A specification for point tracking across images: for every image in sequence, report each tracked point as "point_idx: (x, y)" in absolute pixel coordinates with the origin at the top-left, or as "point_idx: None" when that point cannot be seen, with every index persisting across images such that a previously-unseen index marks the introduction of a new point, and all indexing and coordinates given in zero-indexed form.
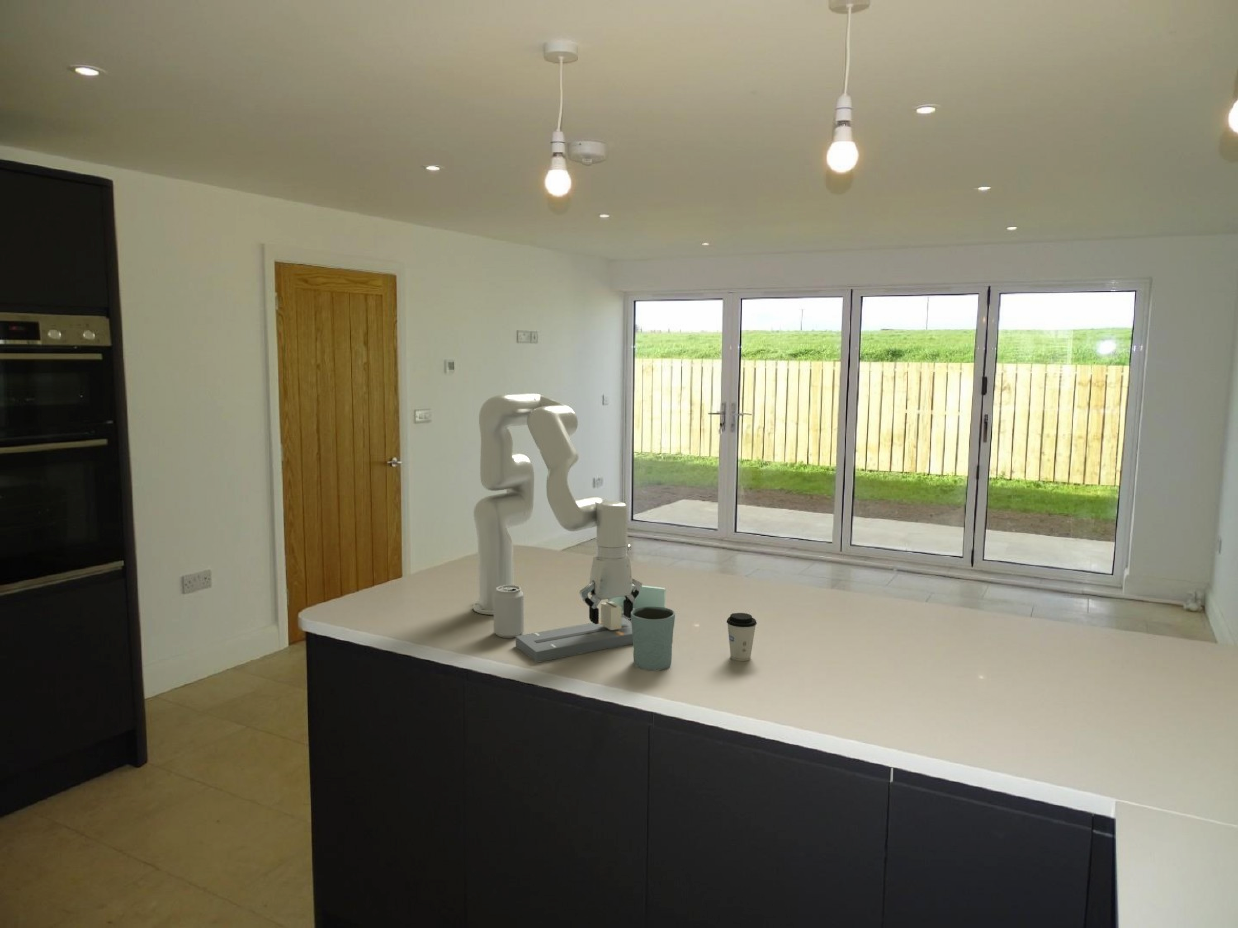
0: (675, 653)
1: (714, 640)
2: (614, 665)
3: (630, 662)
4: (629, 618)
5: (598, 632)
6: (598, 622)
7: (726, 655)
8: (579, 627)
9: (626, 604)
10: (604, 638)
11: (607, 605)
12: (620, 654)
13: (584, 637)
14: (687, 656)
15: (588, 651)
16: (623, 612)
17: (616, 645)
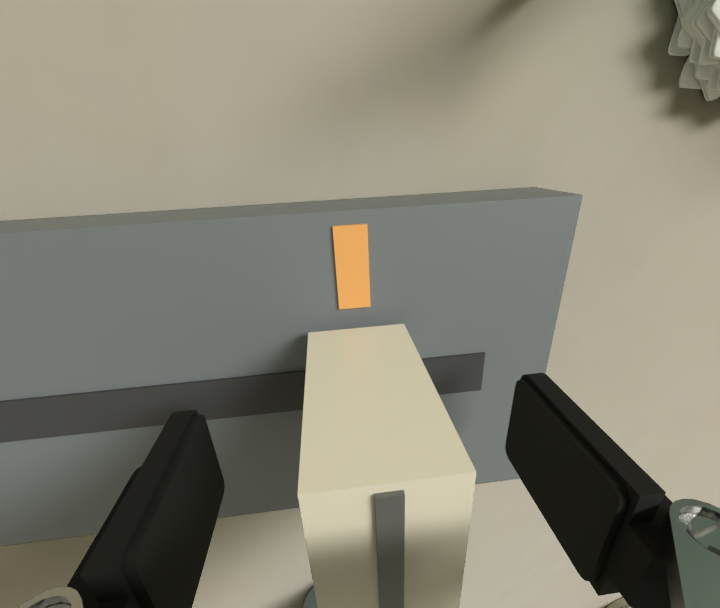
0: (493, 557)
1: (703, 500)
2: (230, 592)
3: (300, 584)
4: (690, 47)
5: (244, 422)
6: (221, 495)
7: (610, 594)
8: (124, 286)
9: (581, 513)
10: (244, 507)
11: (335, 579)
12: (298, 524)
13: (122, 470)
14: (508, 581)
15: None
16: (528, 391)
17: None
